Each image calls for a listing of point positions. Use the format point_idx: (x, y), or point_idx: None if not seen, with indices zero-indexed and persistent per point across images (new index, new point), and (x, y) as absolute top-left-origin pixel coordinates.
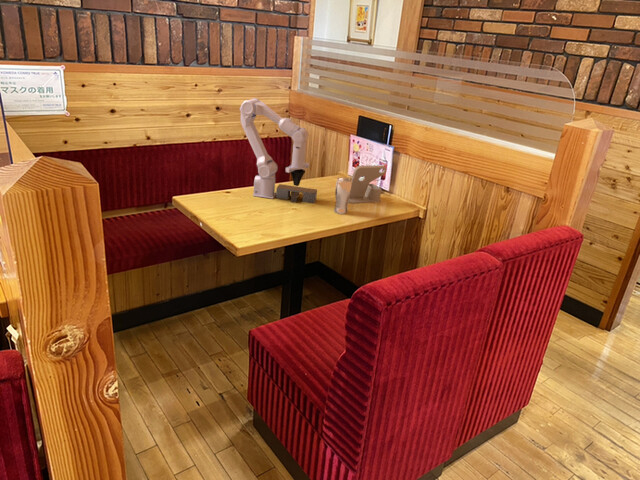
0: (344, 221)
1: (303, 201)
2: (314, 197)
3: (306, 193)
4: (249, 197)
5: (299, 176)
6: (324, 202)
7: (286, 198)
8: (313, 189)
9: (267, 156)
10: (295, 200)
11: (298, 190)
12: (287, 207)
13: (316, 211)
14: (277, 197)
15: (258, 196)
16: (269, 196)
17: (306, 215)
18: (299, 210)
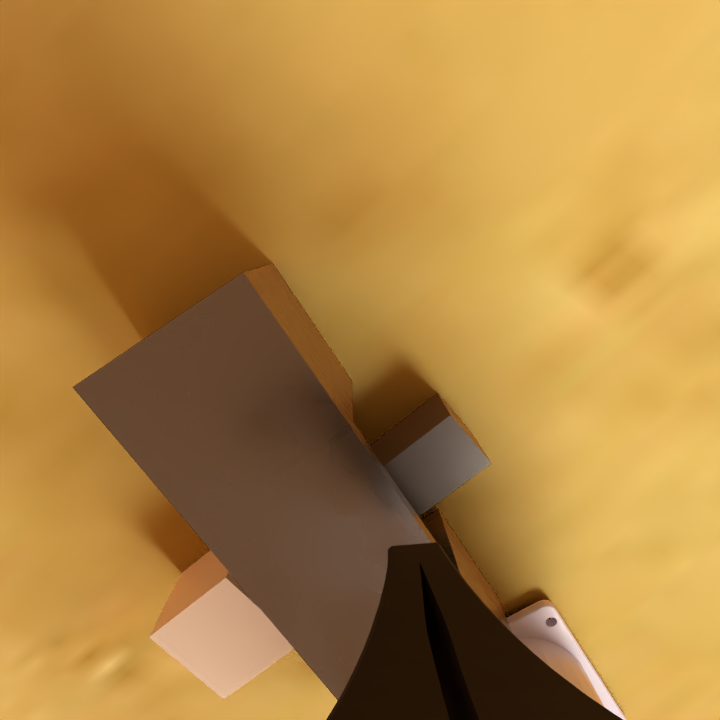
0: None
1: (345, 372)
2: (260, 270)
3: (326, 381)
4: (674, 714)
5: (504, 684)
6: (122, 216)
7: (447, 526)
8: (130, 417)
9: None
10: (451, 411)
11: (380, 498)
12: (629, 346)
13: (468, 35)
14: (494, 592)
15: (609, 693)
16: (548, 642)
17: (688, 9)
18: (606, 197)
